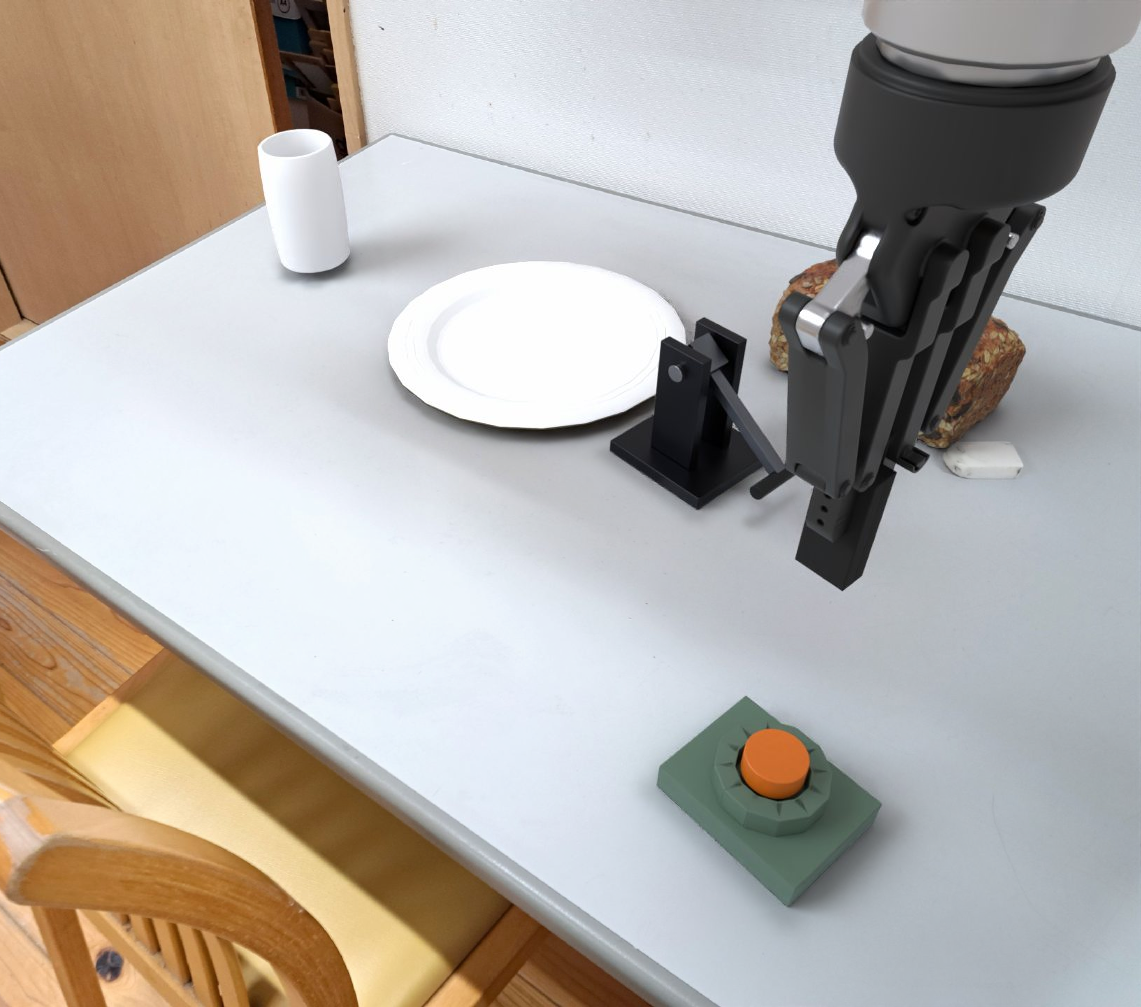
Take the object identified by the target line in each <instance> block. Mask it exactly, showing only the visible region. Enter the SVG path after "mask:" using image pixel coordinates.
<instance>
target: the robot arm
mask: <svg viewBox="0 0 1141 1007" xmlns="http://www.w3.org/2000/svg"><path fill="white" fill-rule="evenodd" d="M860 15H861V19H862V21H863V24H864V26H865V27H866V28H867V29H868V31H870V32H869V33H867V34H866V35H865V36H864V37H863V39H862V40H860V41H859V42H858V43H856V44H855V46H854V48H852V51H851V54H850V59H849V65H848V69H847V74H846V77H845V78H846V79H845V82H844V88H843V89H844V90H843V92H842V97H841V103H840V108H839V112H838V117H837V122H836V127H835V131H834V135H833V151H834V155H835V157H836V160H837V161H838V164H839V165H840V166H841V168H842V169H843V170H844V171H845V173H846V174H847V176H848V177H849V179H850V181H851V183H852V185H853V187H854V190H855V193H856V198H855V202H854V204H853V206H852V209H851V212H850V214H849V216H848V219H847V221H846V222H845V225H844V227H843V229H842V231H841V233H840V235H839V237H838V240H837V242H836V247H835V258H836V261H837V265H838V267H839V268H838V269H837V271H836V272H835V273H834V274H833V275H832V277H831V278H830V279H829V280H828V282H827V283H826V284H825V285H824V287H823V288H822V289H821V290H820V292H819V293H818V294H817V295H816V296H815V297H814V298H811V297H809V296H807V295H805V294H803V293H801V292H799V291H794V292H793V293H791V294H790V295H789V296H788V297H787V298H786V299H785V300H784V302H783V303H782V305H781V307H780V309H779V313H778V322H779V324H780V327H781V329H782V331H783V334H784V336H785V338H786V340H787V343H788V345H789V351H788V371H787V392H786V393H787V396H786V398H787V399H786V435H785V436H786V438H785V439H786V440H785V463H786V470H788V471H789V472H791V473H793V474H794V475H795V476H796V477H797V478H799V479H801V480H803V482H805V483H807V484H809V485H810V486H812V487H813V488H812V492H811V496H810V499H809V503H808V506H807V511H806V515H805V517H804V518H805V519H804V522H803V525H802V526H803V527H802V530H801V534H800V537H799V541H798V546H797V549H796V553H795V557H794V560H795V561H796V562H798V563H799V564H801V565H802V566H804V567H806V568H807V569H808V570H810V571H811V572H813V573H814V574H816V575H817V576H819V577H820V578H821V579H824V580H825V581H826V582H828V583H829V584H831V585H832V586H834V587H835V588H837V589H838V590H839V591H841V592H844V591H845V590H846V589H848V588H849V587H850V586H852V585H853V584H854V583H855V582H856V581H858V580H859V579H861V578H862V577H863V575H864V573H865V568H866V566H867V563H868V560H869V557H870V553H871V551H872V549H873V548H872V547H873V545H874V541H875V540H876V536H877V533H878V530H879V528H880V527H879V526H880V524H881V521H882V518H883V515H884V512H885V510H886V506H887V505H888V504H887V503H888V500H889V498H890V495H891V491H892V488H893V486H894V482H895V479H896V476H897V473H898V471H896V470H895V467H896V465H898V466H899V467H901V468H903V469H905V470H906V471H907V472H910V473H911V474H917V473H918V472H920V471H921V470H922V469H923V468H924V467H925V465H926V464H927V462H928V461H929V459H930V456H931V454H930V453H927V452H926V451H924V450H922V449H920V448H919V447H916V446H915V445H916V443H917V439H918V438H917V437H918V434H919V431H920V432H922V433H924V434H926V435H929V434H930V433H932V432H934V431H935V430H936V429H937V427H938V426H939V425H940V423H941V420H942V418H943V415H944V413H945V411H946V409H947V407H948V405H949V403H950V401H951V399H952V397H953V395H954V392H955V390H956V388H957V386H958V384H959V382H960V380H961V378H962V376H963V374H964V371H965V369H966V367H967V365H968V363H969V361H970V359H971V357H972V355H973V353H974V351H975V348H976V346H977V344H978V342H979V340H980V338H981V336H982V334H983V332H984V330H985V328H986V325H987V323H988V321H989V319H990V317H991V316H993V314H994V311H995V309H996V306H997V305H998V302H999V301H1000V298H1001V296H1002V294H1003V292H1004V290H1005V288H1006V286H1007V284H1008V281H1009V279H1010V277H1011V275H1012V274H1013V271H1014V269H1015V267H1016V265H1017V264H1018V262H1019V260H1020V259H1021V258H1022V256H1023V254H1024V253H1025V251H1026V249H1027V247H1028V246H1029V245H1030V243H1031V241H1032V240H1033V238H1034V236H1035V235H1036V233H1037V232H1038V230H1039V229H1040V227H1041V226H1042V225H1043V223H1044V220H1045V216H1046V214H1047V207H1046V206H1045V205H1042V204H1039V203H1038V202H1041V201H1044V200H1045V199H1048V198H1050V197H1052V196H1054V195H1056V194H1058V193H1059V192H1061V191H1062V190H1064V189H1065V188H1066V187H1067V186H1068V185H1070V183H1071V182H1072V181H1073V180H1074V179H1075V178H1076V176H1077V175H1078V172H1079V171H1080V169H1081V167H1082V164H1083V161H1084V159H1085V156H1086V154H1087V151H1088V149H1089V146H1090V143H1091V141H1092V138H1093V137H1094V133H1095V131H1096V128H1097V126H1098V124H1099V121H1100V118H1101V116H1102V113H1103V111H1104V108H1105V106H1106V103H1107V101H1108V98H1109V96H1110V93H1111V90H1112V88H1113V86H1114V83H1115V82H1116V81H1115V80H1116V78H1117V72H1116V66H1115V65H1114V64H1113V60H1112V58H1111V56H1110V55H1111V54H1114V53H1116V52H1117V51H1119V50H1120V49H1122V48H1123V47H1125V46H1127V45H1128V44H1129V43H1131V42H1132V40H1133V38H1134V37H1135V35H1136V34H1137V31H1138V29H1139V26H1140V24H1141V0H864V1H863V4H862V9H861V14H860Z"/></svg>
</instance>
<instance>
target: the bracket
mask: <svg viewBox="0 0 1141 1007" xmlns="http://www.w3.org/2000/svg"><path fill="white" fill-rule="evenodd" d="M707 333H710V335H711V336H712V338H713V339H714V341H715V342H716V344H717V345H718V346H719V348H720V349H721V351H722V352H723V354H724V355H725V357H726V358H727V360H728V363H727V364H725V365H724V366H723V367H721V368H720V370H721V372H722V373H723V375H724V376H725V378H726V379H727V381H728V382H729V384H730V385H731V387H732V388H733V390H734V391H735V392H736V394H737V395H738V396H739V391H740V386H741V385H740V384H741V378H742V372H743V367H744V362H745V355H746V349H747V343H748V338H746V337H744V336H742V335H740V334H739V333H736V332H734V331H733V330H730V329H728V328H727V327H725V326H723V325H720V324H719V323H717V322H715V321H713V320H711V319H709V318H707V317H705V316H703V317H701V318H700V319H698V320H696V321H695V327H694V335H693V341H694V340H696V339H698V338H699V337H701V336H703V335H705V334H707ZM687 345H688V344H686V345H685V344H683V343H681V342H679V341H678V340H676V339H674V338H672V337H670V336H668V337H667V338H665V339H663V340H661V344H660V355H659V365H658V376H657V386H656V395H655V396H654V397H655V398H654V407H653V408H654V409H653V415H651V416H649V417H647V418H645V419H644V420H642V421H641V422H638V423H637V424H636V425H634V426H632V427H631V428H629V429H627V430H626V431H624V432H622V433H620V434H619V435H617V436H615V437H613V438H612V439H610V440H609V451H610V452H611V453H612V454H614V455H616V456H617V457H618V458H619V459H621V460H623V461H624V462H626V463H627V464H629V466H632V467H633V468H634V469H636V470H637V471H639V472H640V473H642V474H643V475H645V476H646V477H648V478H649V479H651V480H652V481H654V482H655V483H657V484H658V485H660V486H661V487H663V489H664V488H665V489H666V490H667V491H669V492H670V493H671V494H673V495H675V496H676V497H677V498H679V499H681V500H682V501H684V502H685V503H686V504H688V505H689V506H690V507H692V508H694V509H695V510H699V509H700V508H702V507H704V506H705V505H706V504H708V503H709V502H711V501H713V500H714V499H716V498H717V497H718V496H720V495H722V494H723V493H724V492H726V491H727V490H728V489H730V488H732V487H733V486H735V485H736V484H738V483H739V482H741V481H742V480H743V479H745V478H747V477H749V476H750V475H751V474H753V473H754V472H756V471H757V470H759V469H760V468H762V467H763V465H762V464H761V463H760V461H759V460H758V458H757V457H756V455H755V454H754V452H753V451H752V449H751V448H750V446H749V445H748V443H747V442H746V440H745V439H744V437H743V436H742V435H741V433H740V432H739V430H738V429H737V428H734V427H733V426H734V423H733V421H732V420H731V418H730V417H729V415H728V414H727V412H726V411H725V409H724V408H723V407H722V405H721V404H720V402H719V401H718V399H717V398H716V396H715V395H714V393H713V392H712V390H711V389H710V387H709V379H710V372H711V365H712V359H711V358H709V357H707V356H705V355H703V354H701V353H700V352H698V351H696V350H694V349H692V348H690V347H689V346H687Z"/></svg>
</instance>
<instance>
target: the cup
mask: <svg viewBox="0 0 1141 1007" xmlns="http://www.w3.org/2000/svg"><path fill="white" fill-rule="evenodd" d="M257 154H258V162H259V171H260V177H261V184H262V190H263V195H264V199H265V200H264V201H265V204H266V209H267V214H268V218H269V223H270V226H271V230H272V234H273V238H274V242H275V246H276V249H277V252H278V257H279V259H280V263H281V264H282V266H283V267H284V268H286V269H287V270H289V271H292V272H295V273H301V274H314V273H321V272H326V271H329V270H332V269H334V268H336V267H338V266H340V265H342V264H344V262H345V261H346V260H347V259H348V258H349V256H350V254H351V252H350V251H351V250H350V238H349V237H350V236H349V228H348V227H349V226H348V218H347V211H346V202H345V196H344V188H343V183H342V177H341V173H340V168H339V163H338V158H337V155H336V151H335V147H334V142H333V139H332V137H331V136H330V135H329V134H328V133H325V132H324V131H321V130H319V129H311V128H310V129H309V128H296V129H288V130H284V131H279V132H277V133H274V134H271V135H270V136H268V137H266V138H264V139H263V140H262V141H261V142H260V143H259V145H258V146H257Z"/></svg>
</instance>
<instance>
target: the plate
mask: <svg viewBox="0 0 1141 1007" xmlns="http://www.w3.org/2000/svg"><path fill="white" fill-rule="evenodd" d="M668 336H670V337H672V338H674V339H676V340H678V341H679V342H681V343H683V344H685V345H687V338H686V328H685V326H684V324H683V322H682V320H681V318H680V316H679V315H678V313H677V311H676V309H675V307H673V306H672V305H671V304H670V303H669V302H668V301H667V300H665V299H664V298H663V297H662V296H661V295H660V294H659V293H658V292H657V291H656V290H654V289H652V288H651V287H648V286H647V285H644V284H643V283H641V282H639V281H637V280H636V279H634V278H632V277H630V276H628V275H624V274H621V273H619V272H615V271H612V270H609V269H605V268H602V267H599V266H595V265H594V266H593V265H588V264H587V265H586V264H582V263H581V264H580V263H575V262H570V261H569V262H568V261H550V260H549V261H547V260H544V261H543V260H541V261H540V260H527V261H517V262H509V263H508V262H507V263H500V264H494V265H493V264H492V265H490V266H485V267H481V268H478V269H473V270H469V271H466V272H463V273H460V274H458V275H455V276H453V277H450V278H449V279H446V280H444V281H441V282H440V283H437V284H434V285H432V286H431V287H430V288H428V289H427V290H425V291H424V292H423V293H421V294H420V295H418V296H417V297H416V298H414V299H412V300H411V301H410V302H409V303H408V304H407V306H406V307H405V308H404V309H403V310H402V311H401V312H400V314H399V315H398V316H397V317H396V318H395V319H394V322H393V325H392V327H391V330H390V333H389V336H388V338H387V350H388V361H389V365H390V367H391V369H392V370H393V373H394V374H395V376H396V377H397V378H398V380H399V382H400V384H401V385H402V387H404V389H406V390H407V391H408V392H410V393H411V394H412V395H414V396H415V397H416V398H417V399H419V401H421V402H422V403H424V404H425V405H426V406H428V407H430V408H433V409H436V410H438V411H440V412H442V413H444V414H446V415H449V416H451V417H454V418H456V419H458V420H461V421H465V422H471V423H474V424H480V425H484V426H488V427H493V428H498V429H514V430H515V429H516V430H536V431H546V430H552V429H561V428H562V429H563V428H570V427H577V426H586V425H589V424H594V423H596V422H599V421H602V420H606V419H608V418H611V417H616V416H619V415H623V414H625V413H627V412H629V411H630V410H632V409H634V408H636V407H637V406H640V405H641V404H643V403H645V402H647V401H648V400H650V399H652V398H653V397H655V396H656V386H657V376H658V365H659V355H660V344H661V340H663V339H665V338H667V337H668Z"/></svg>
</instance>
